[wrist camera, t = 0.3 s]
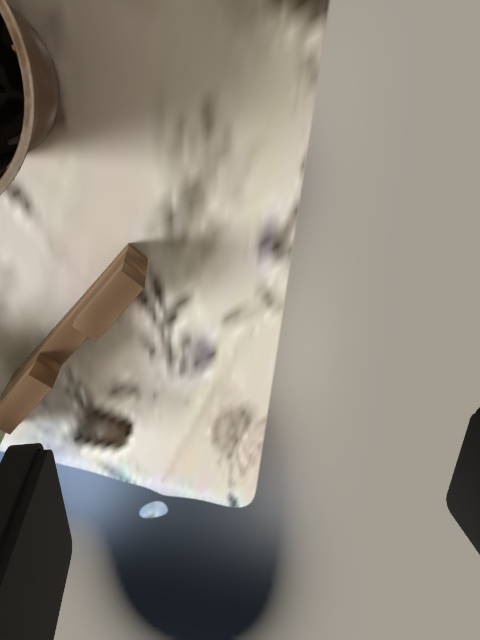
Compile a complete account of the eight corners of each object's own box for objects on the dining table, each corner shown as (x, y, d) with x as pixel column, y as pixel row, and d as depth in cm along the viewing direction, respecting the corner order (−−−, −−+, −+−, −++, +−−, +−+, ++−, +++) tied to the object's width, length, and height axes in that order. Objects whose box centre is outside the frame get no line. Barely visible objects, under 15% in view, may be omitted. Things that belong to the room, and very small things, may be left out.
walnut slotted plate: (12, 375, 48) (-14, 422, 41) (128, 243, 43) (121, 270, 36) (32, 386, 49) (9, 434, 42) (147, 258, 44) (144, 288, 37)
